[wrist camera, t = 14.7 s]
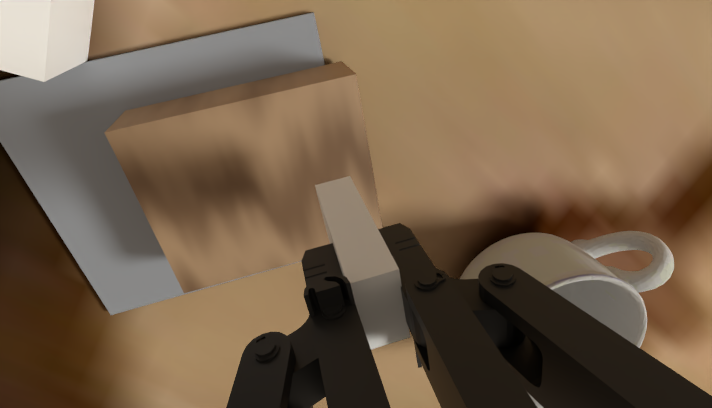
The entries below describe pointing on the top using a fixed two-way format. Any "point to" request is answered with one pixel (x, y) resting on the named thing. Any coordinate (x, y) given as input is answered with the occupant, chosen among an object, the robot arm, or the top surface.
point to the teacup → (587, 274)
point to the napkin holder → (44, 36)
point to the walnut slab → (245, 170)
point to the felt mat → (97, 159)
